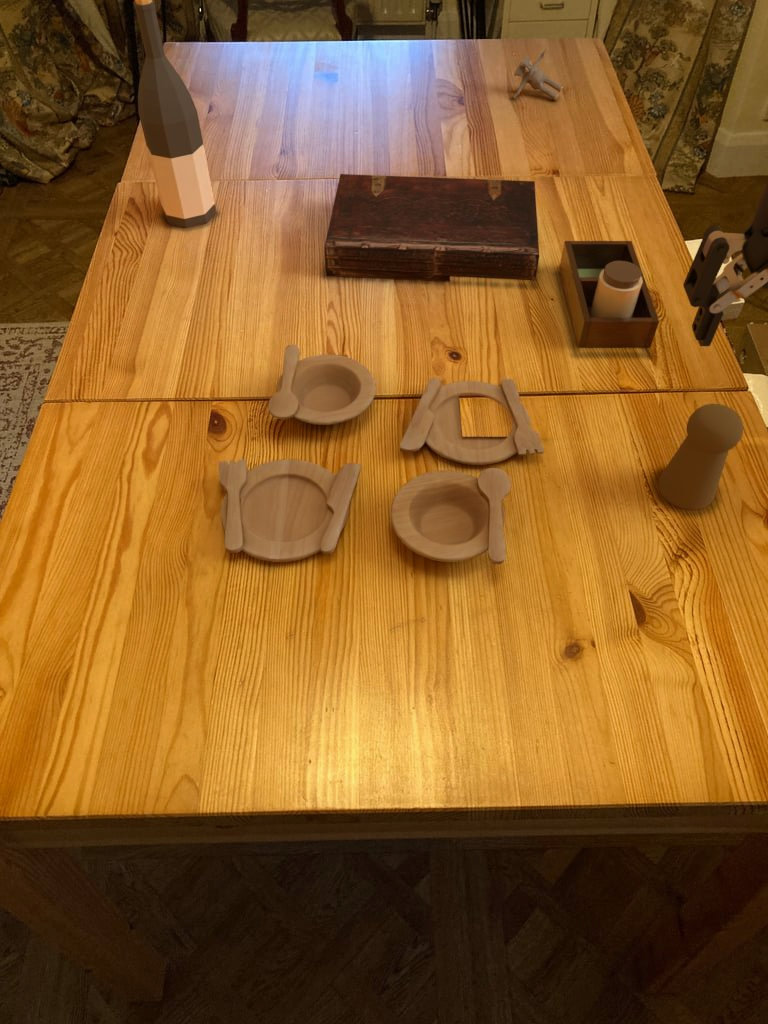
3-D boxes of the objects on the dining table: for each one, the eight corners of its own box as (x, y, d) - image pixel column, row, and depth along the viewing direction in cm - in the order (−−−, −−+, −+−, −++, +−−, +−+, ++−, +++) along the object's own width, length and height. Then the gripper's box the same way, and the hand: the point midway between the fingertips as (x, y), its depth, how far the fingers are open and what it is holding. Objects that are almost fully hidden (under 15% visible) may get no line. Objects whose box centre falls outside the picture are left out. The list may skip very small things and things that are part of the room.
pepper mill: (726, 500, 82) (766, 428, 74) (679, 516, 81) (713, 445, 72) (692, 461, 86) (726, 388, 77) (646, 476, 84) (676, 403, 76)
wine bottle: (159, 228, 115) (101, 0, 92) (167, 200, 120) (113, -23, 97) (213, 227, 115) (169, -1, 92) (219, 199, 120) (178, -24, 97)
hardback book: (326, 276, 108) (323, 244, 104) (342, 205, 119) (340, 174, 115) (534, 286, 106) (539, 254, 102) (529, 212, 118) (534, 181, 114)
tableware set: (192, 557, 78) (184, 533, 75) (260, 366, 96) (255, 340, 93) (540, 596, 75) (546, 572, 72) (542, 391, 93) (548, 366, 90)
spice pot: (624, 312, 101) (640, 258, 95) (632, 337, 98) (648, 283, 91) (584, 312, 101) (597, 258, 95) (591, 337, 98) (605, 283, 91)
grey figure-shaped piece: (544, 112, 138) (503, 84, 138) (541, 125, 144) (501, 97, 144) (578, 62, 137) (536, 33, 137) (573, 77, 143) (533, 49, 143)
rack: (622, 272, 108) (631, 240, 104) (648, 353, 97) (659, 321, 93) (558, 272, 108) (564, 240, 104) (576, 353, 97) (584, 321, 93)
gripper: (749, 188, 53) (679, 369, 65) (958, 187, 52) (847, 369, 65) (720, 135, 57) (660, 314, 70) (912, 135, 57) (817, 314, 70)
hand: (750, 340), depth 67 cm, fingers open, 8 cm apart
